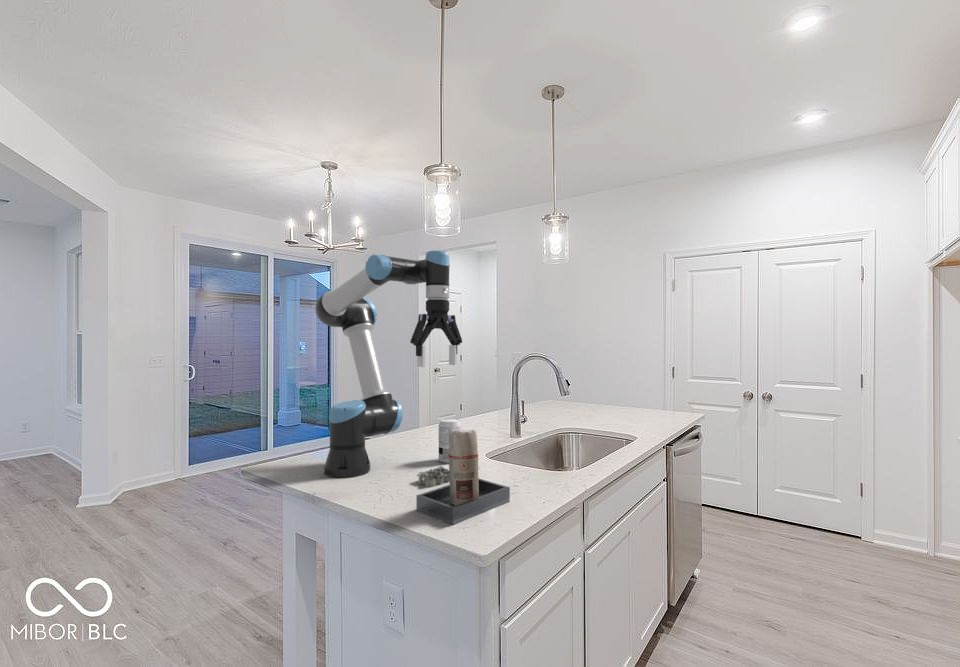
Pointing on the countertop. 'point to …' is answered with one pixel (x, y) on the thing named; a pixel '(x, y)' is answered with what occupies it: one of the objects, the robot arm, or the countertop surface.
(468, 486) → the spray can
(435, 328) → the robot arm
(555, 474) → the countertop surface
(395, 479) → the countertop surface
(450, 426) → the supplement can
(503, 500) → the grey soap tray
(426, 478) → the potted succulents
